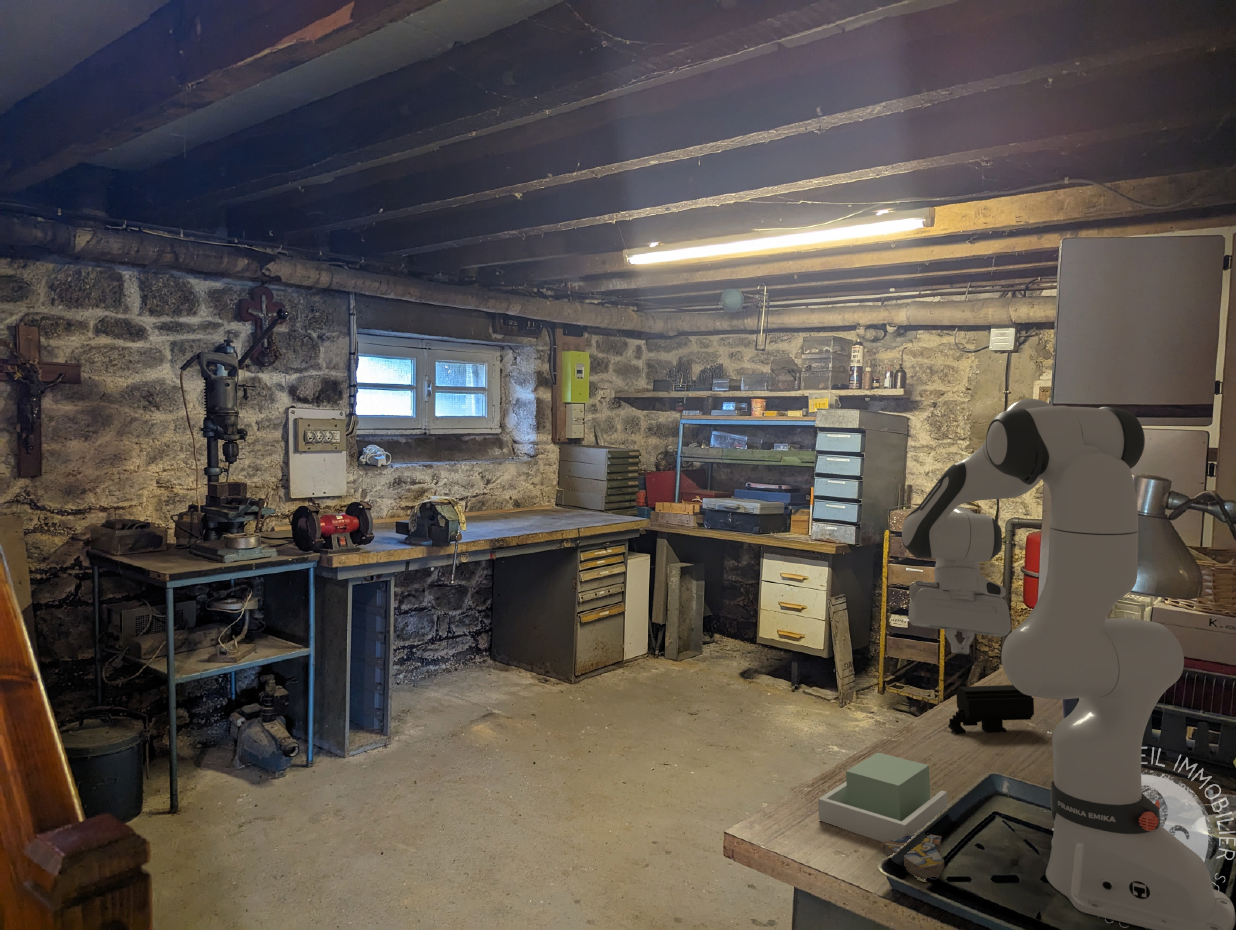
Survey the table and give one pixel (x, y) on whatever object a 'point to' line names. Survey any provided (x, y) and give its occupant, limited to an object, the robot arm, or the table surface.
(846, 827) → the box
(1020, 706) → the security camera
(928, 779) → the block
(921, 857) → the ceramic tile fragment
